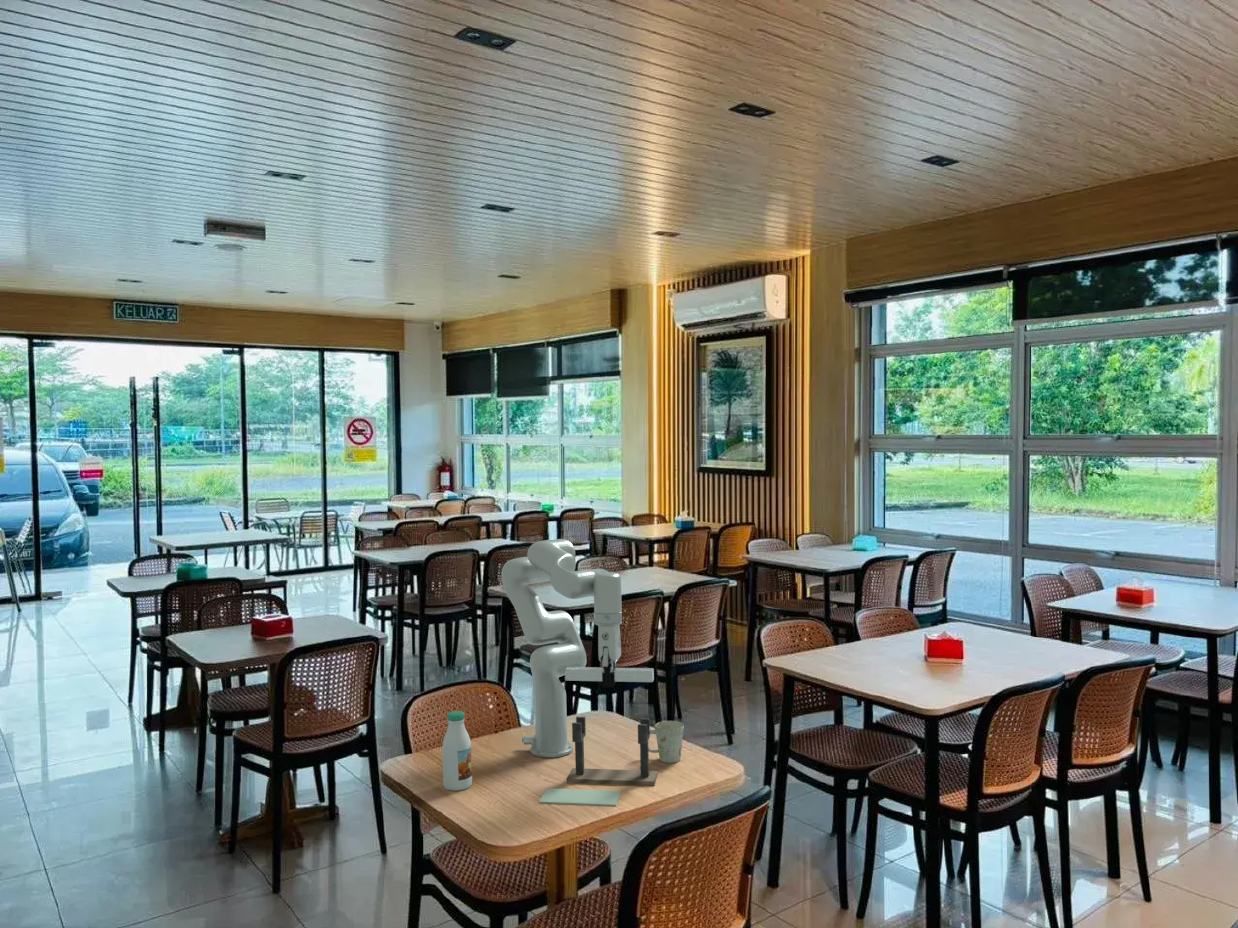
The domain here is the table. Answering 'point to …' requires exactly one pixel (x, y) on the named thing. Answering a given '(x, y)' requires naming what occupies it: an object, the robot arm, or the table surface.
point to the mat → (581, 797)
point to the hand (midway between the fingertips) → (609, 684)
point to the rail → (619, 674)
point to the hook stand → (611, 775)
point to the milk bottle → (456, 754)
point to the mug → (668, 740)
